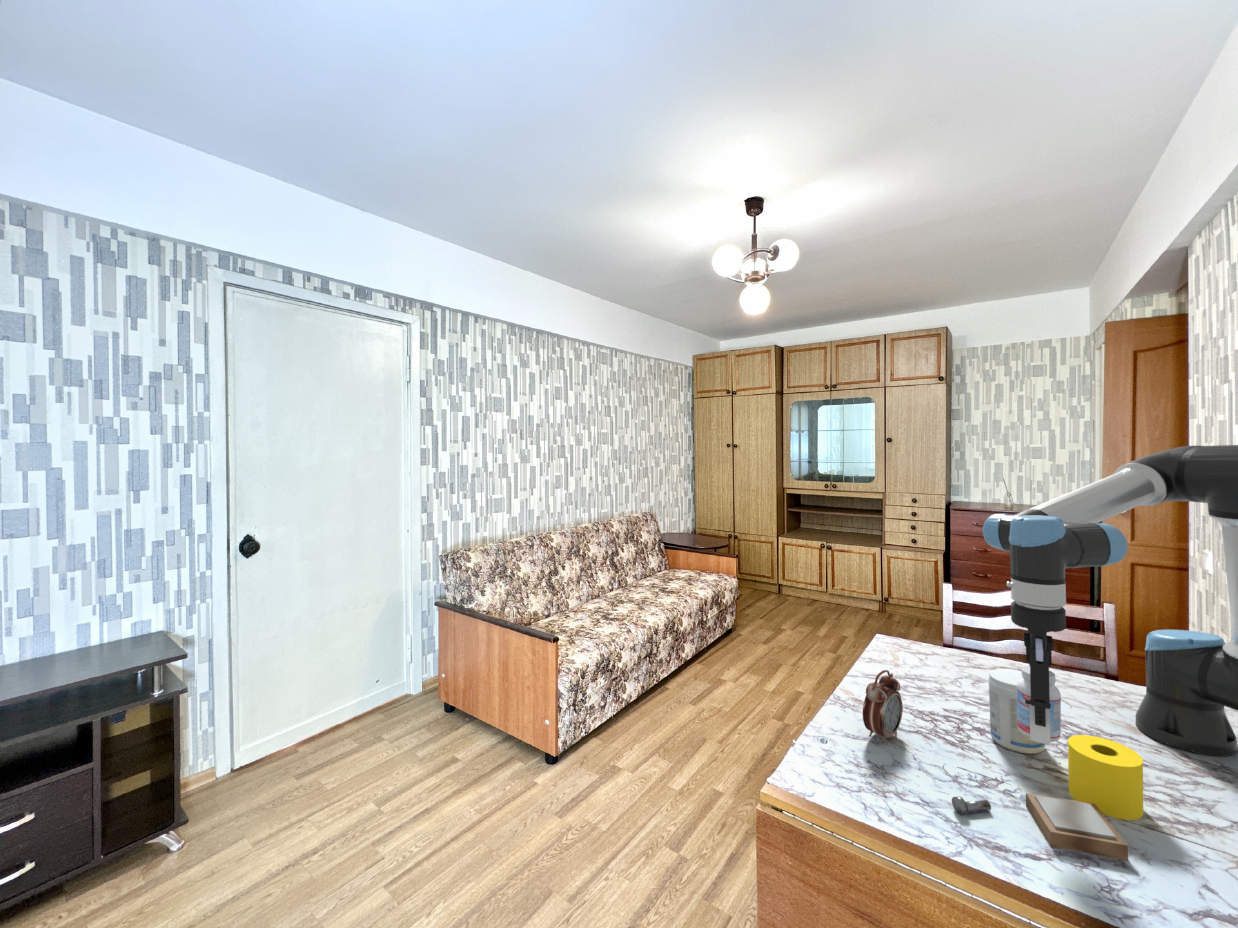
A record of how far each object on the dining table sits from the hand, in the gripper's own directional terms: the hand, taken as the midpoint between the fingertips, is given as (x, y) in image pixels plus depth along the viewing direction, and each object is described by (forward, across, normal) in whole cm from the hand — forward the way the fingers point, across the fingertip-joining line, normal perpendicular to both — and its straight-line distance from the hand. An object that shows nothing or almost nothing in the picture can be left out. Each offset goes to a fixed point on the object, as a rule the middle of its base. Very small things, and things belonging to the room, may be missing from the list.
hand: (1039, 732), depth 92 cm
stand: (+15, +2, +4) cm, 16 cm away
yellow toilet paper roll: (+15, -11, +9) cm, 21 cm away
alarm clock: (+15, -12, -28) cm, 33 cm away
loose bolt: (+15, +6, -9) cm, 18 cm away
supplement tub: (+15, -25, -4) cm, 29 cm away
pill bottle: (+1, 0, 0) cm, 1 cm away
